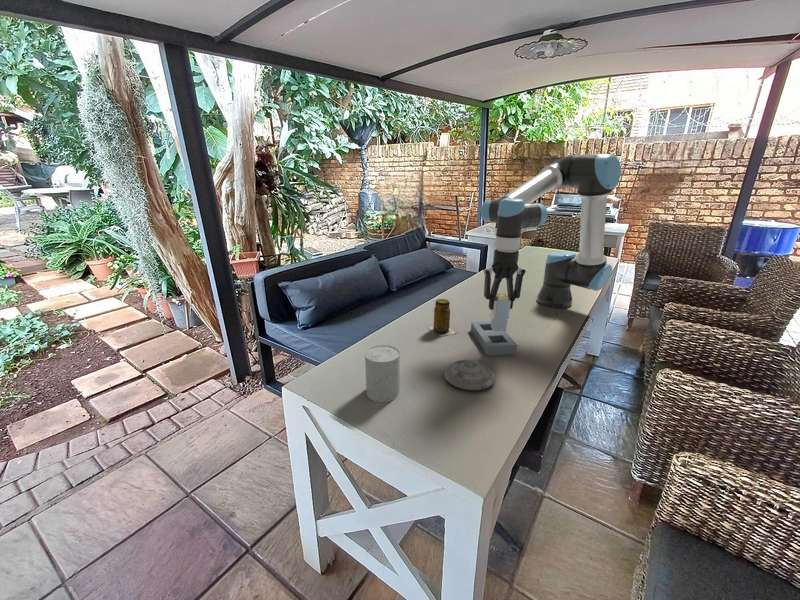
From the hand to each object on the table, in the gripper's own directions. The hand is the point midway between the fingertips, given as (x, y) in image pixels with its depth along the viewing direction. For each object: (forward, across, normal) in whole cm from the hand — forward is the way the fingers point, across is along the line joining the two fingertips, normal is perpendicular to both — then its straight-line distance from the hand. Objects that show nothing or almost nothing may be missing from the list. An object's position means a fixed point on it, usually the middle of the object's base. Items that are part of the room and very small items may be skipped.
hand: (499, 317), depth 124 cm
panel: (+12, 0, -5) cm, 13 cm away
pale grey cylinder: (+12, +41, +22) cm, 48 cm away
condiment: (+12, +16, -16) cm, 26 cm away
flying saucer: (+12, +15, +18) cm, 26 cm away
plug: (+4, 0, 0) cm, 4 cm away
